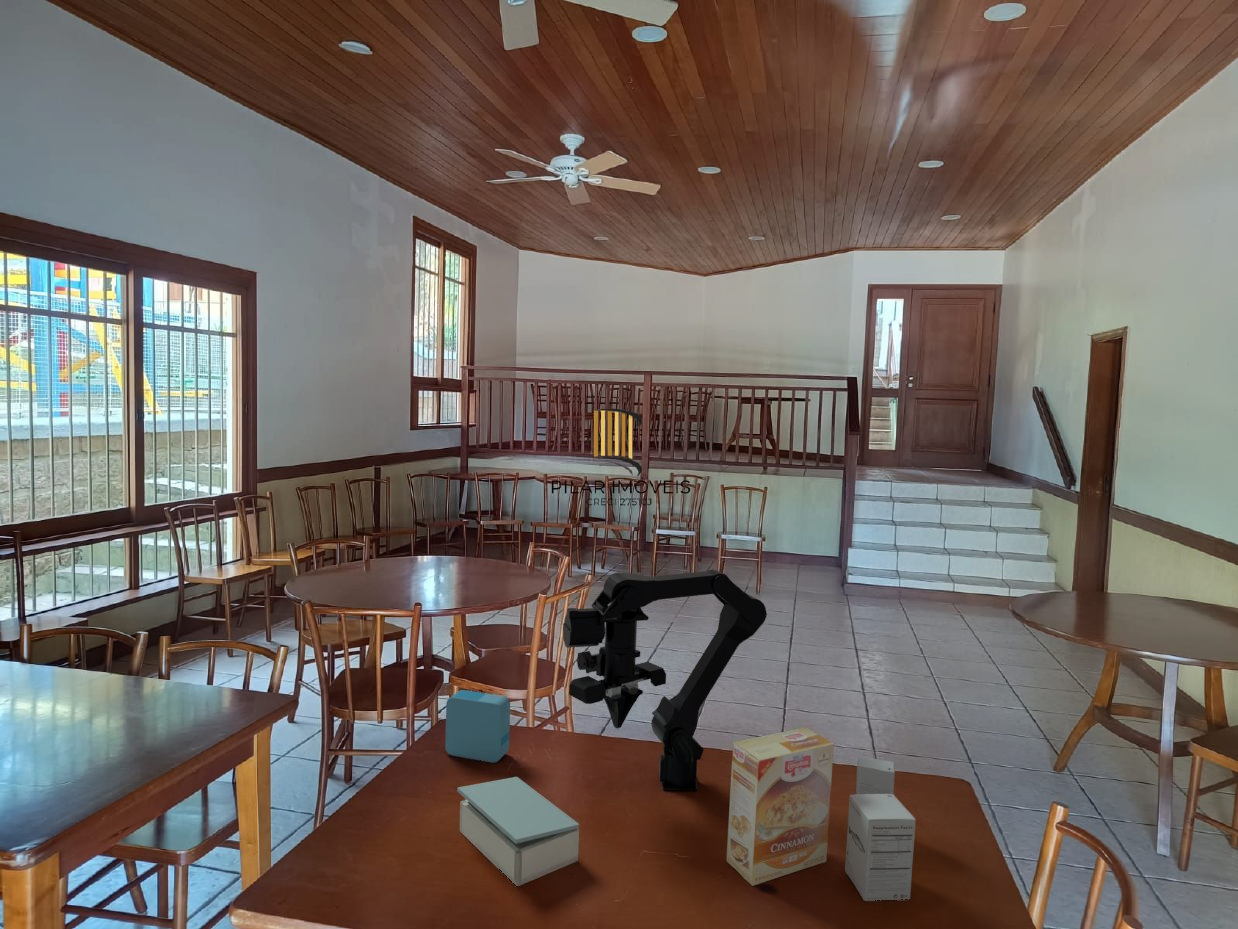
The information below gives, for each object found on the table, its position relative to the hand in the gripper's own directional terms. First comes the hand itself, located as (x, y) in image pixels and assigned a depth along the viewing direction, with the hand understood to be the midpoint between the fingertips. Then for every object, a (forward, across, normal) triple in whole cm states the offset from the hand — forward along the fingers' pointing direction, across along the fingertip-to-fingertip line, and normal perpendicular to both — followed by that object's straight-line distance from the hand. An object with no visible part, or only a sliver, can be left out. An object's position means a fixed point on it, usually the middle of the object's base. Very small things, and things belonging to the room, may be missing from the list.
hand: (617, 727), depth 138 cm
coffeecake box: (+12, -7, +32) cm, 35 cm away
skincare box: (+12, -27, +36) cm, 47 cm away
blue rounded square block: (+12, +14, -27) cm, 33 cm away
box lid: (+6, +24, +5) cm, 25 cm away
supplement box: (+12, -14, +45) cm, 49 cm away
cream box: (+12, +24, +5) cm, 27 cm away
